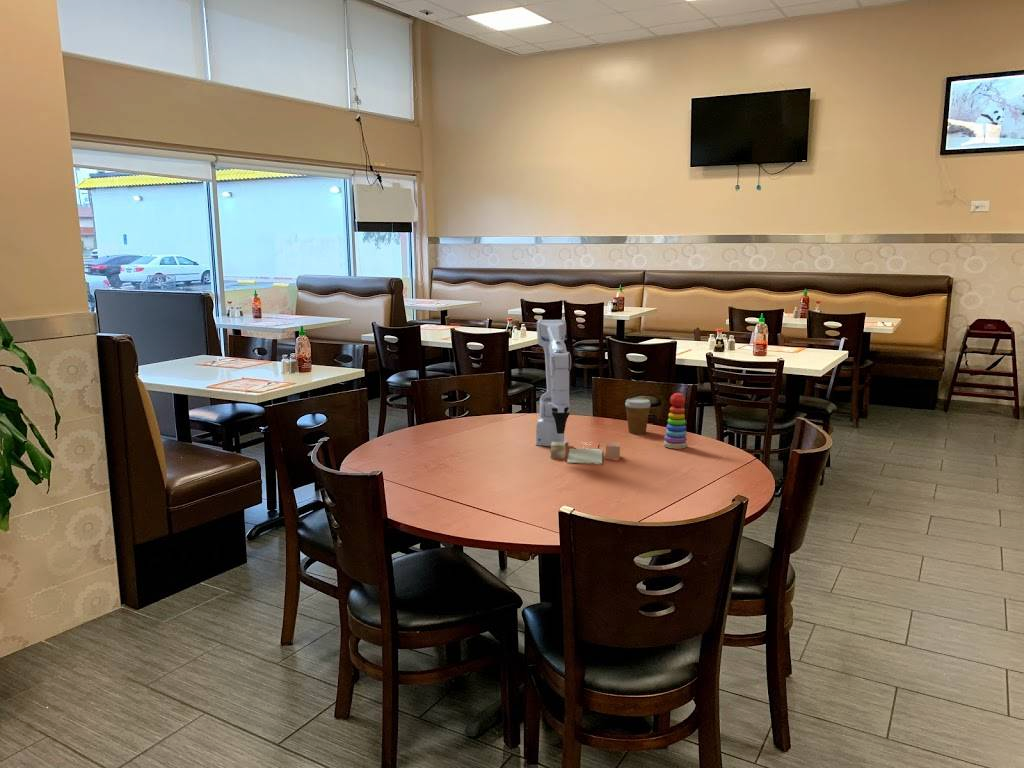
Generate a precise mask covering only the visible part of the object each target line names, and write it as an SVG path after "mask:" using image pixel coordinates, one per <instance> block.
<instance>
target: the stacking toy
mask: <svg viewBox="0 0 1024 768" xmlns="http://www.w3.org/2000/svg"><path fill="white" fill-rule="evenodd" d="M669 403H670V404H671V406H670V408H669V413H668V419H667V425H666V428H667V429H666V430H665V435H664V436H663V437H664V441H663V446H664V447H665V448H667V447H668V449H672V448H673V450H682V448H683V449H686V448H687V446H688V442H687V438H688V437H687V430H686V429H687V426H686V419H685V418H686V416H685V412H686V409H685V407H683V406H684V405H685V404H686V398H685V396H684V394H683V393H680V392H675V393H673V394H671V396H670V399H669Z"/></svg>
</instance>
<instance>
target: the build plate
mask: <svg viewBox="0 0 1024 768" xmlns="http://www.w3.org/2000/svg"><path fill="white" fill-rule="evenodd" d="M566 463H567V464H571V463H598V464H597V465H603V449H600V448H599V449H575V448H569V449H568V455H567V460H566Z"/></svg>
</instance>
